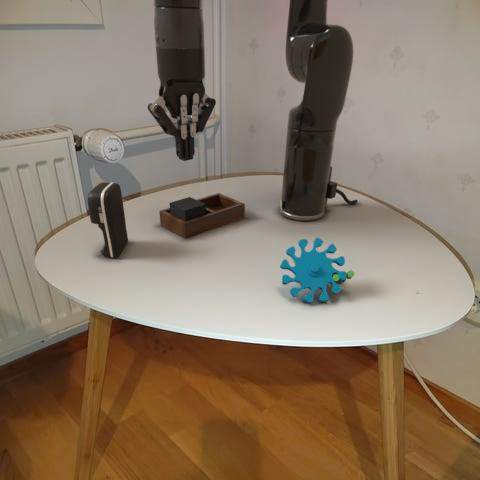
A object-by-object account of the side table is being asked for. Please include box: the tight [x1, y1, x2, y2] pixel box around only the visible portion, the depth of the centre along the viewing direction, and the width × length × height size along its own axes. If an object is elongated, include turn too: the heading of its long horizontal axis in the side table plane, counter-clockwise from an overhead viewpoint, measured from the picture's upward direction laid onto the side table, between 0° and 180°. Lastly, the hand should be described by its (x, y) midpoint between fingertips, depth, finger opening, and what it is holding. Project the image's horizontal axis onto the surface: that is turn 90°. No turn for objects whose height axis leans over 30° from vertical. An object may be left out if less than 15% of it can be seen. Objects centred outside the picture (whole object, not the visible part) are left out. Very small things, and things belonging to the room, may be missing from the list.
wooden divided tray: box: [159, 192, 246, 240], centre depth 84 cm, size 8×15×3 cm, turn 133°
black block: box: [169, 196, 206, 222], centre depth 81 cm, size 5×5×4 cm
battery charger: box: [86, 181, 129, 259], centre depth 71 cm, size 7×4×11 cm, turn 175°
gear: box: [279, 237, 355, 304], centre depth 64 cm, size 11×6×10 cm
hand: (185, 159), depth 75 cm, fingers closed
